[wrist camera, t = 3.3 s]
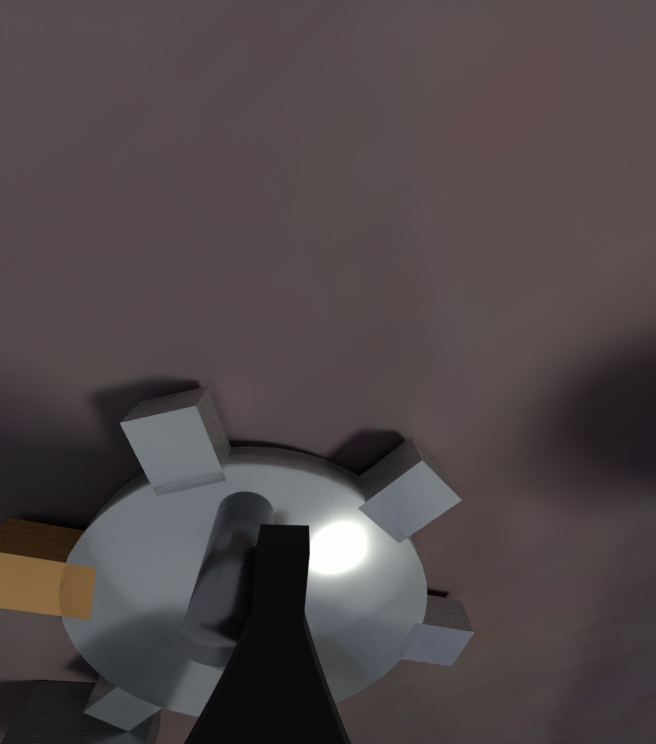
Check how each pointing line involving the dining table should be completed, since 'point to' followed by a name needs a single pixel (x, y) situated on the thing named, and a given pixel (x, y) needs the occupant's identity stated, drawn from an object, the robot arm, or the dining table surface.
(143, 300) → the dining table surface
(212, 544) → the sprocket
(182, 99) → the dining table surface
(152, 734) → the banded cube
